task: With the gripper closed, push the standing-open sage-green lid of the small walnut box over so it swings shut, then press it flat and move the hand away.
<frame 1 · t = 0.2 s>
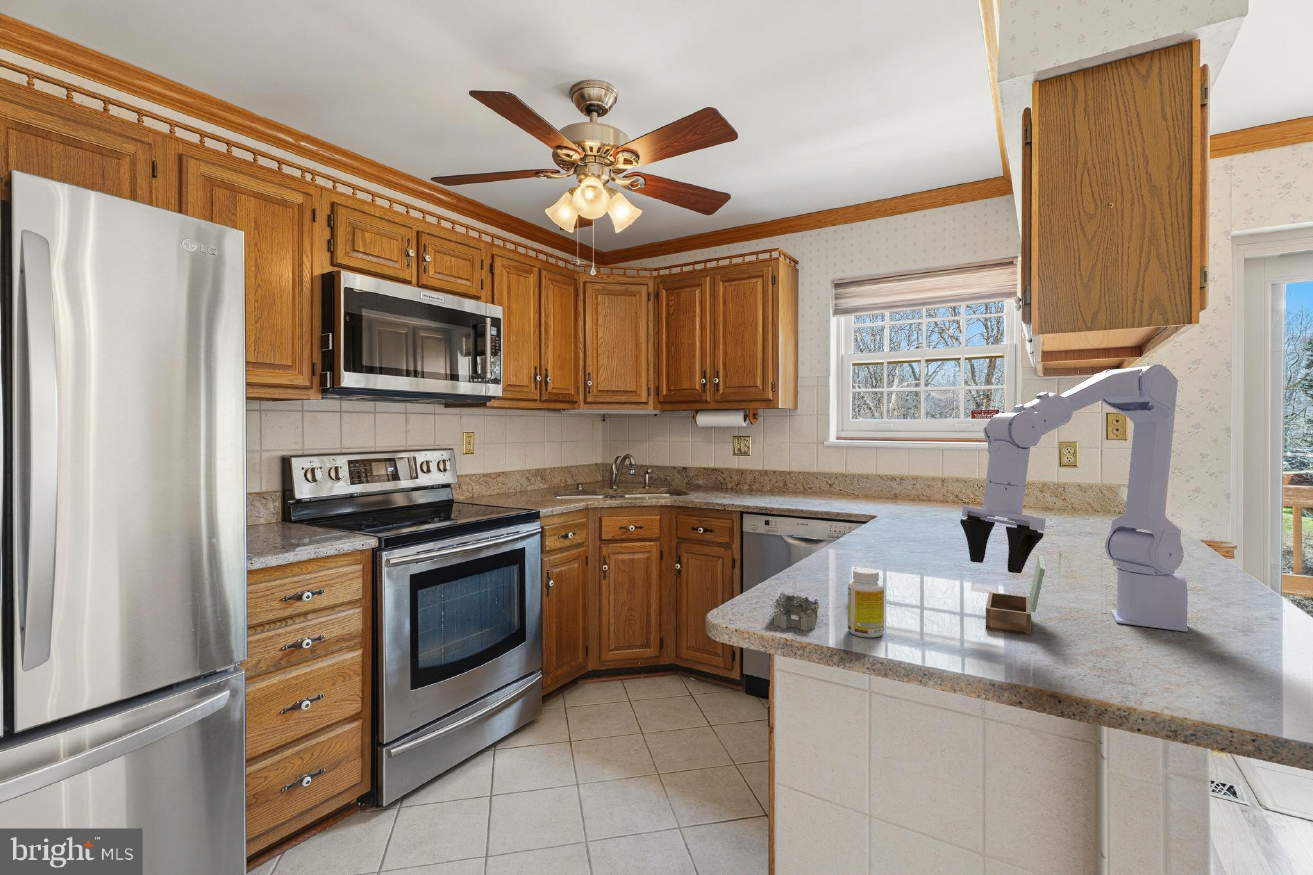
hand: (994, 567, 102), 11 cm above the counter, tool pointing down, fingers open, 7 cm apart
box: (1008, 623, 106), on the counter
lid: (1037, 582, 104), point 8 cm above the counter, hinge at 100.0°
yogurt: (860, 608, 116), on the counter
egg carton: (795, 622, 108), on the counter
supplement bottle: (865, 634, 101), on the counter
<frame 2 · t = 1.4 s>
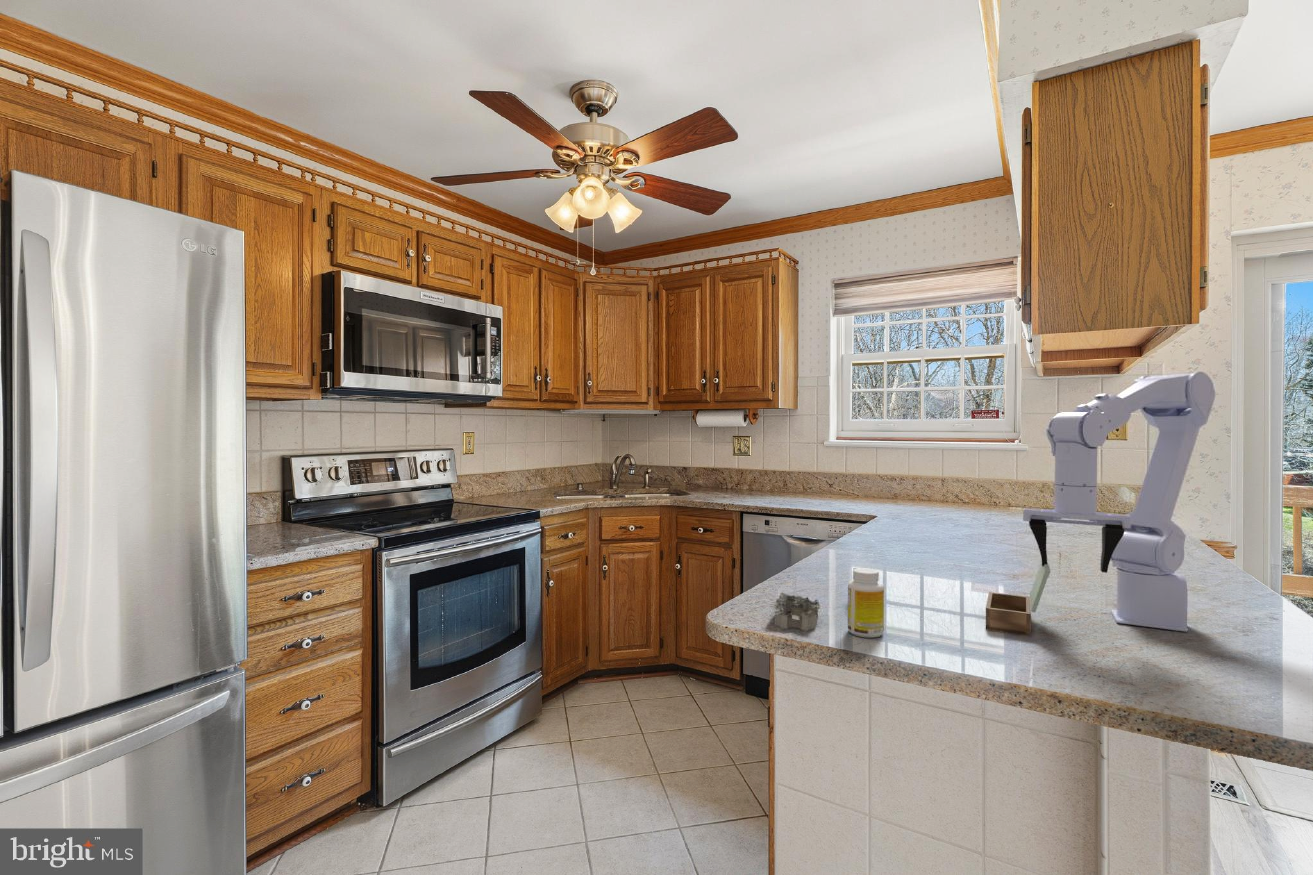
hand: (1073, 568, 101), 11 cm above the counter, tool pointing down, fingers open, 7 cm apart
lid: (1039, 583, 104), point 7 cm above the counter, hinge at 105.9°, touching gripper
everything else where it was.
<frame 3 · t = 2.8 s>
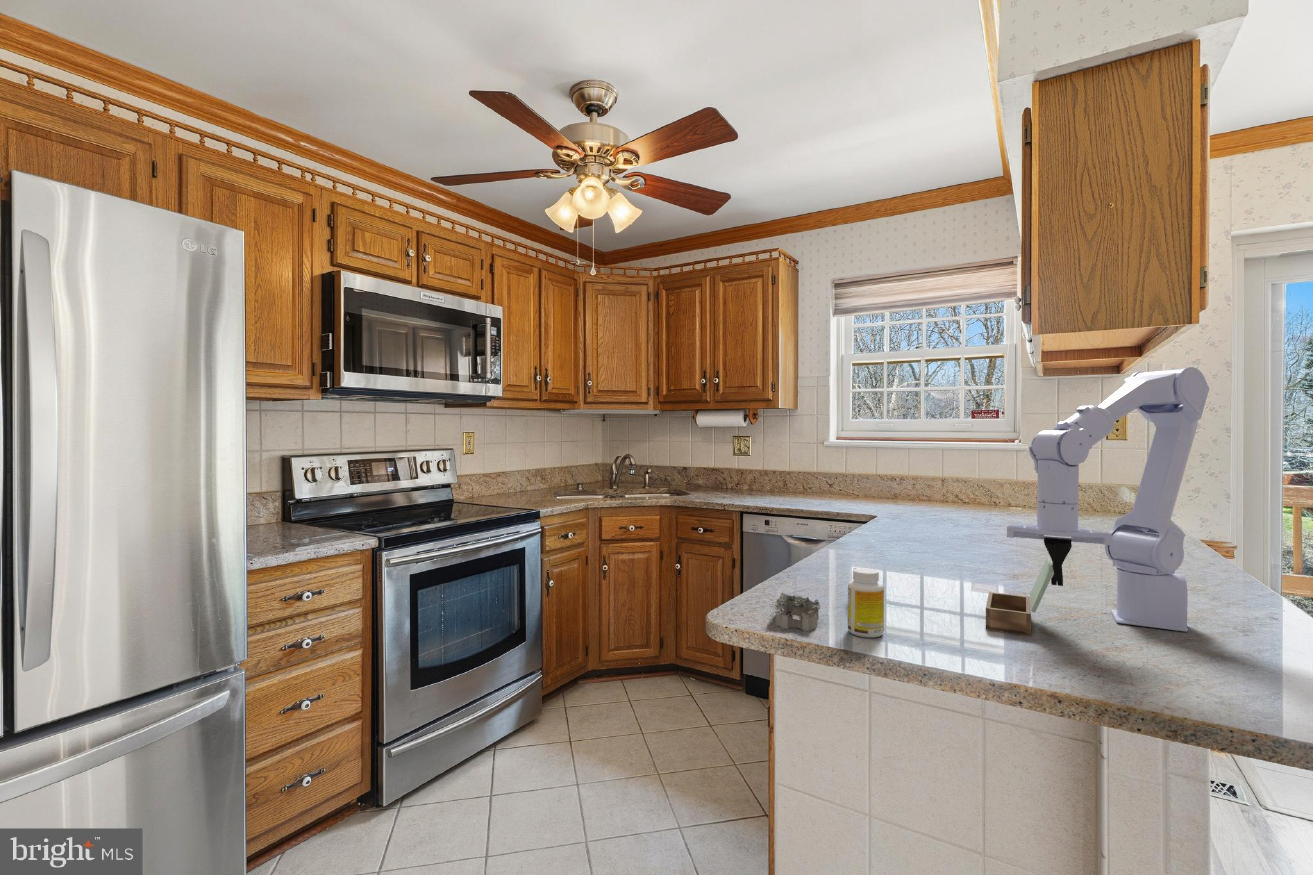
hand: (1056, 584, 103), 8 cm above the counter, tool pointing down, fingers closed, pressing on lid
lid: (1041, 583, 104), point 7 cm above the counter, hinge at 109.9°, touching gripper
everything else where it was.
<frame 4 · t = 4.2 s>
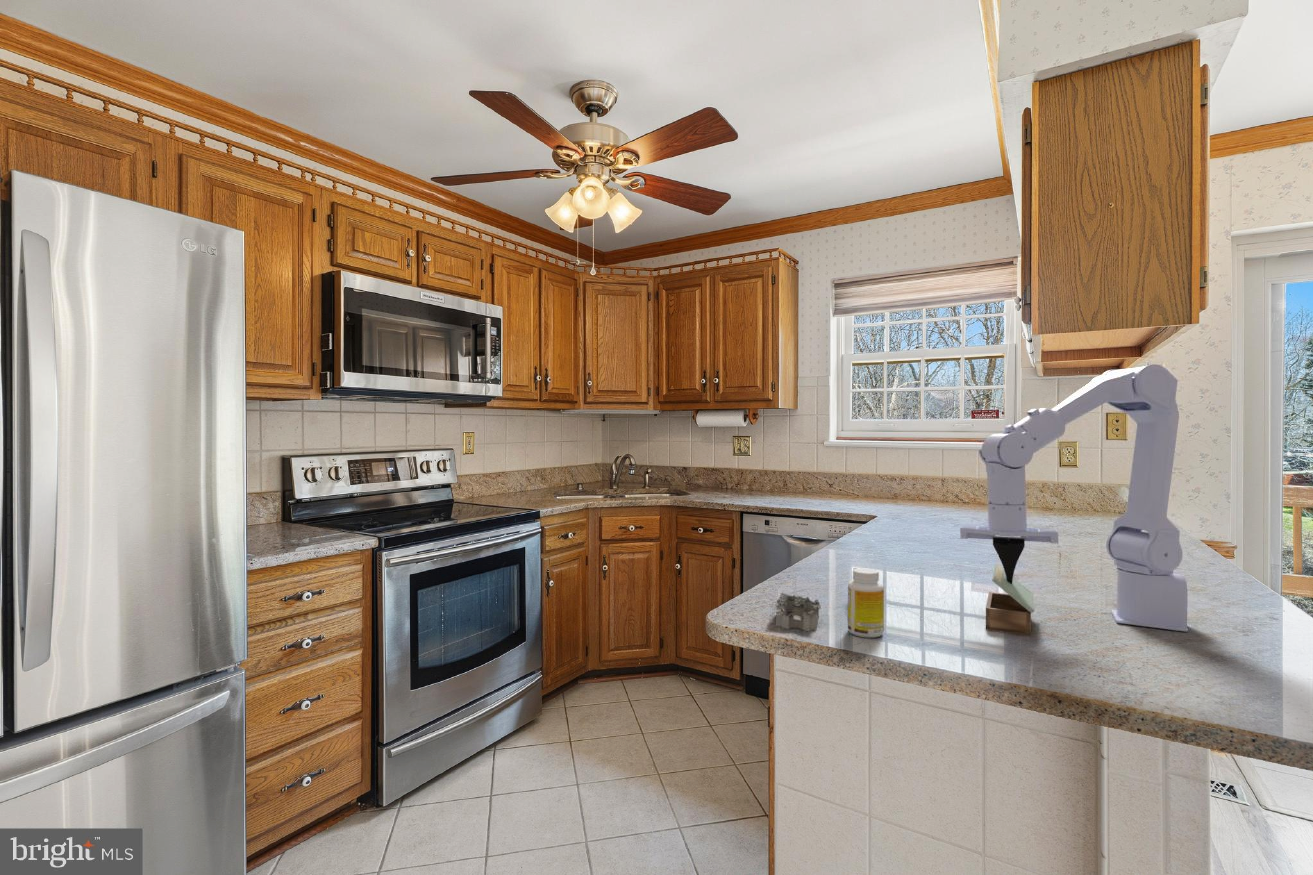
hand: (1009, 582, 106), 7 cm above the counter, tool pointing down, fingers closed, pressing on lid
lid: (1013, 587, 106), point 6 cm above the counter, hinge at 38.7°, touching gripper
everything else where it was.
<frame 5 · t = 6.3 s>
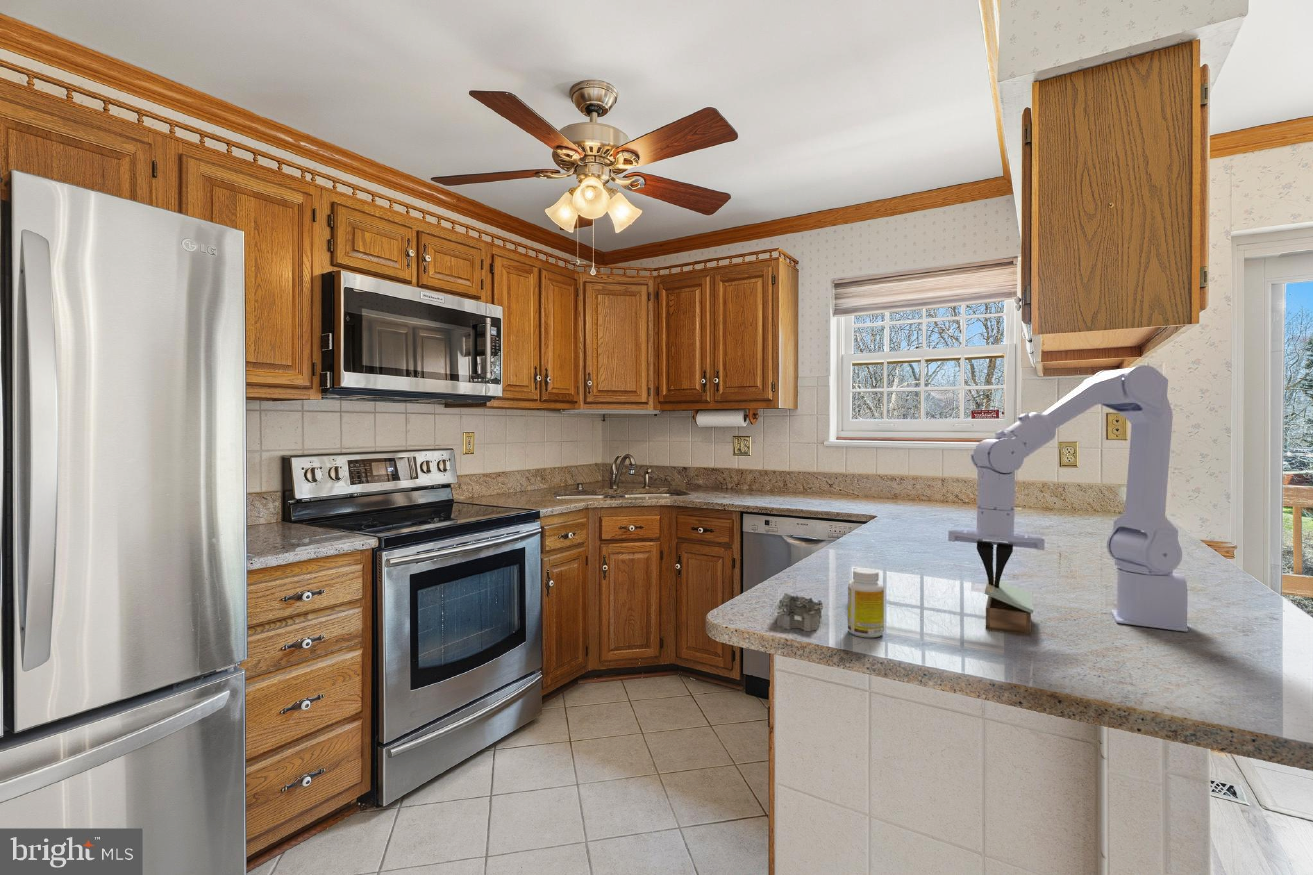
hand: (994, 586, 107), 6 cm above the counter, tool pointing down, fingers closed, pressing on lid
lid: (1009, 593, 106), point 5 cm above the counter, hinge at 18.3°, touching gripper
everything else where it was.
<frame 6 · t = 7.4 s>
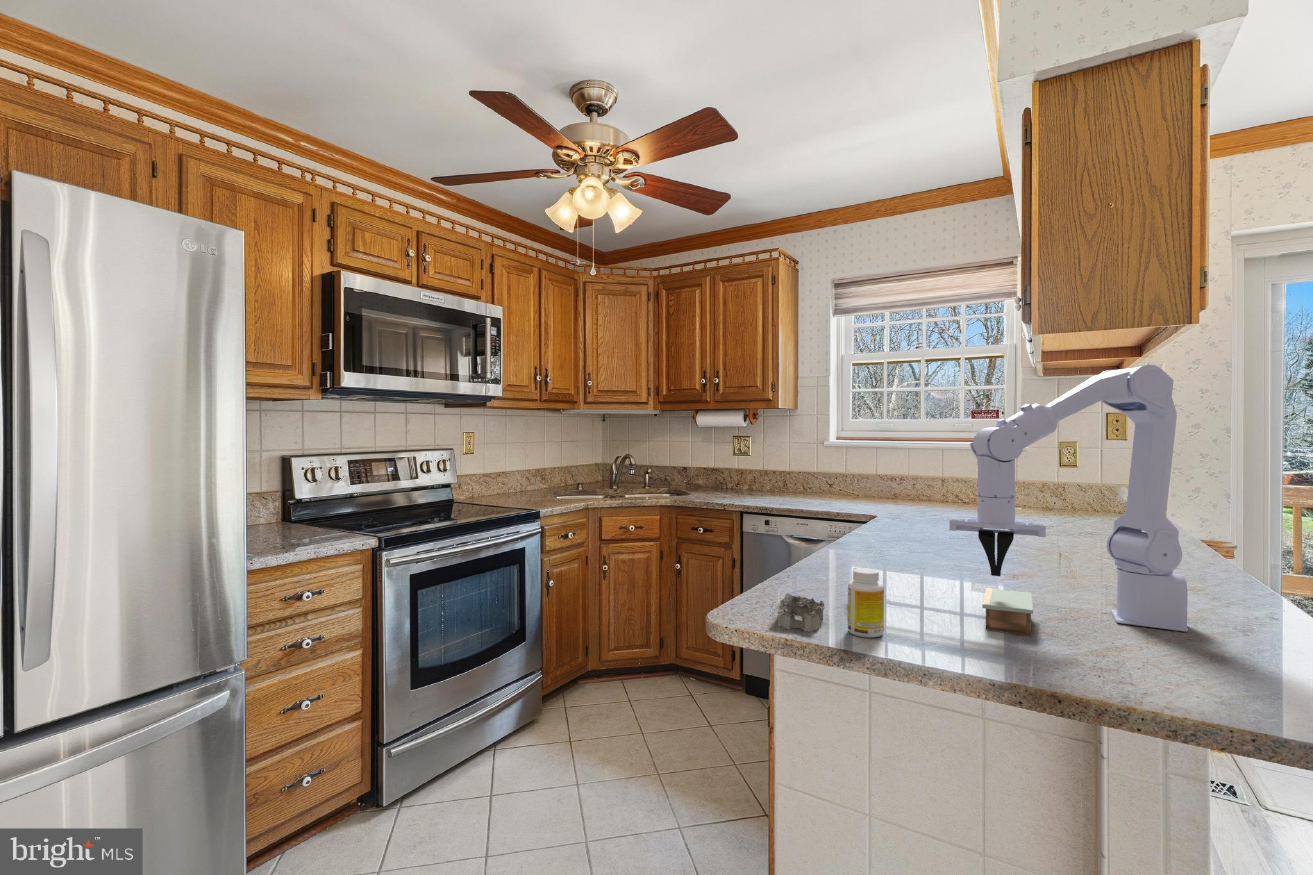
hand: (995, 574, 107), 8 cm above the counter, tool pointing down, fingers closed
lid: (1007, 599, 106), point 4 cm above the counter, hinge at -1.1°, touching box
everything else where it was.
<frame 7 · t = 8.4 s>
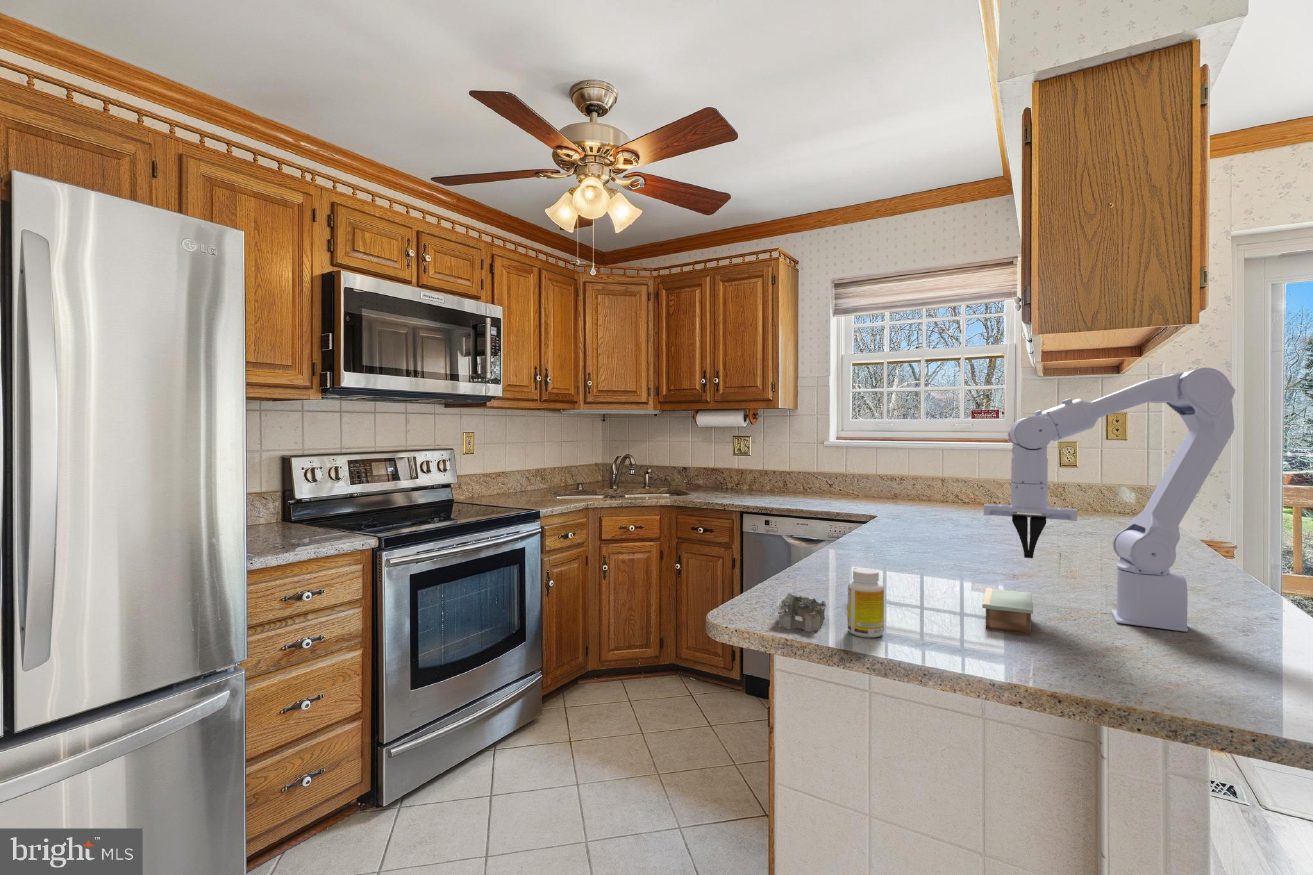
hand: (1028, 557, 113), 10 cm above the counter, tool pointing down, fingers closed
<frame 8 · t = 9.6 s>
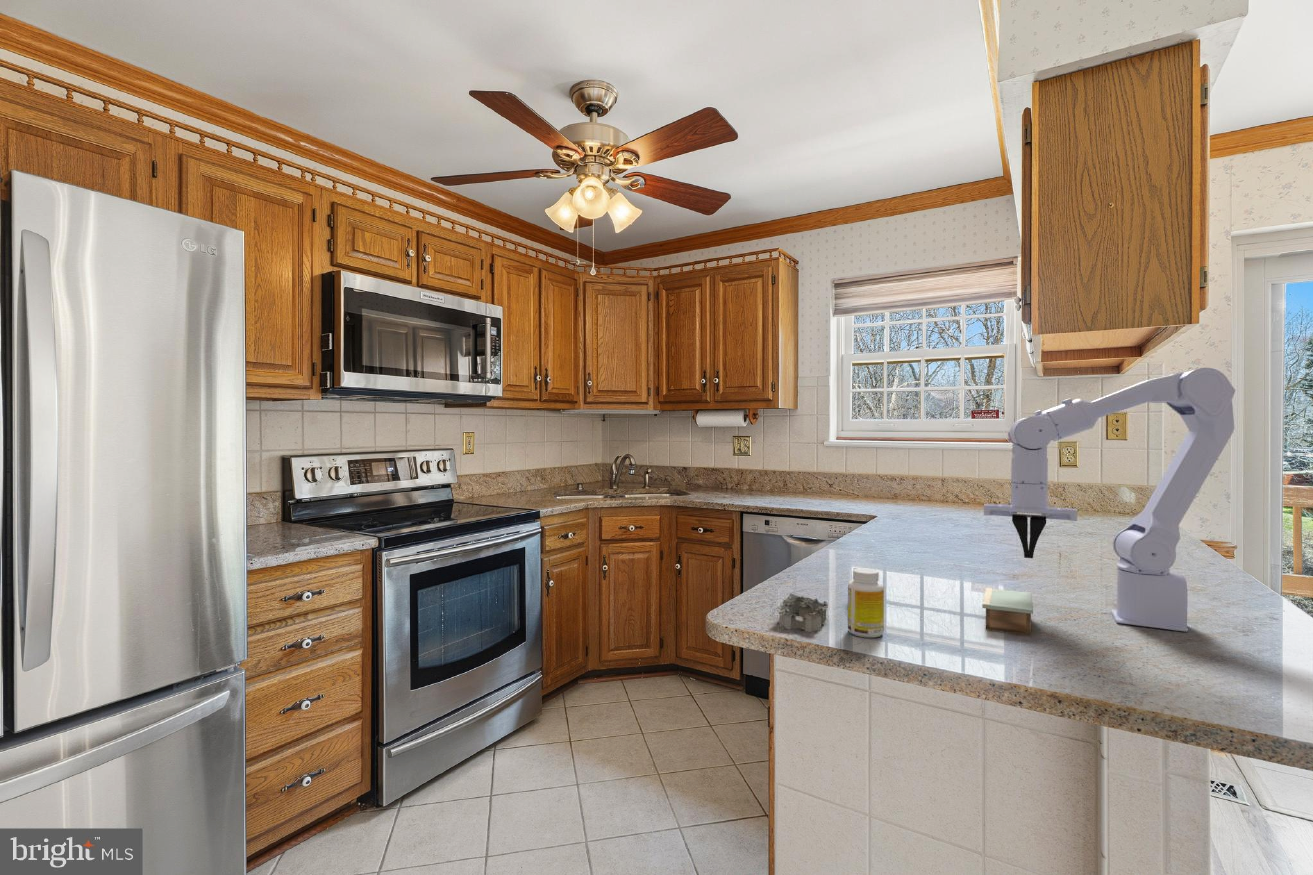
hand: (1028, 557, 113), 10 cm above the counter, tool pointing down, fingers closed
at the end: lid at -1° (first picture: +100°) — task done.
